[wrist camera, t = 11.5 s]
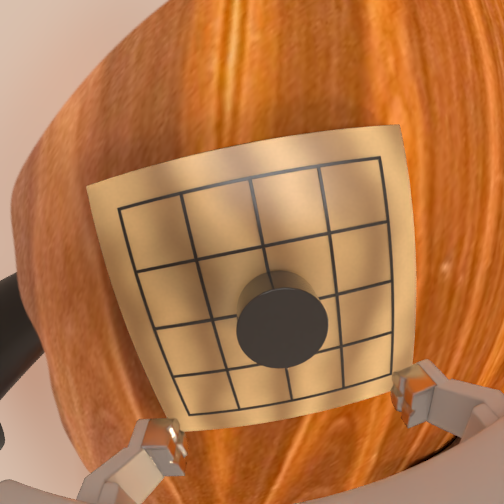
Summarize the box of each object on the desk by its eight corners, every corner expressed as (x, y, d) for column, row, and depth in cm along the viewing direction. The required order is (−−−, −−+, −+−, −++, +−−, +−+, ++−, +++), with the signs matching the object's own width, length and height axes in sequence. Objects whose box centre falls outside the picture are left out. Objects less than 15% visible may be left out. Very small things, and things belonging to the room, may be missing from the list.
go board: (177, 420, 23) (174, 432, 21) (96, 185, 18) (85, 186, 16) (403, 374, 22) (410, 384, 21) (389, 127, 18) (400, 124, 16)
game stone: (246, 349, 19) (246, 376, 16) (229, 279, 18) (226, 298, 15) (320, 333, 19) (332, 358, 16) (311, 262, 18) (324, 278, 15)
